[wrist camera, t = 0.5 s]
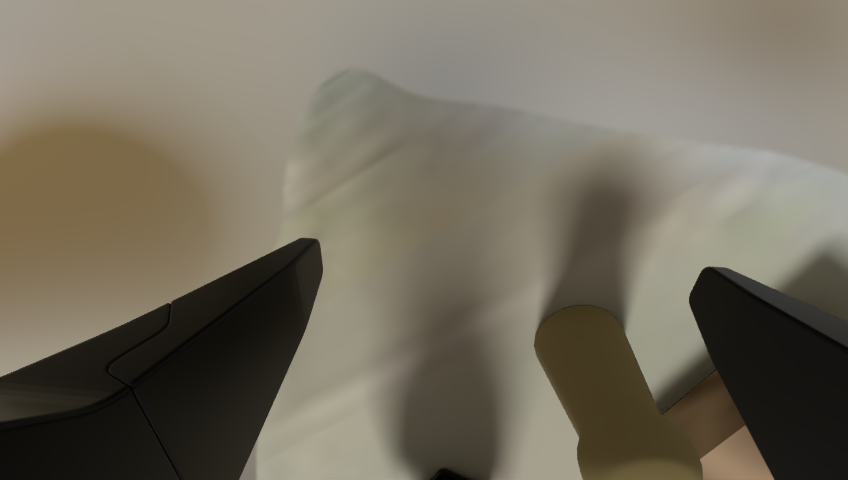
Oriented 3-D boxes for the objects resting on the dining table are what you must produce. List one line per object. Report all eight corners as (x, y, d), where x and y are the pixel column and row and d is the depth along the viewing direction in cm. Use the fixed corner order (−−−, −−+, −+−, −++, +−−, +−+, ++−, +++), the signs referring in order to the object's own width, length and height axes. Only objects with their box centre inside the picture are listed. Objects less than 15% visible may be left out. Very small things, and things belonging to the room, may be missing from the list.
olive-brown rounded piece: (521, 323, 26) (561, 471, 16) (609, 292, 25) (713, 432, 15) (551, 387, 28) (605, 556, 18) (635, 361, 27) (744, 528, 17)
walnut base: (774, 511, 31) (817, 568, 27) (639, 434, 29) (665, 485, 26) (947, 401, 26) (1028, 453, 22) (796, 301, 24) (858, 339, 21)
